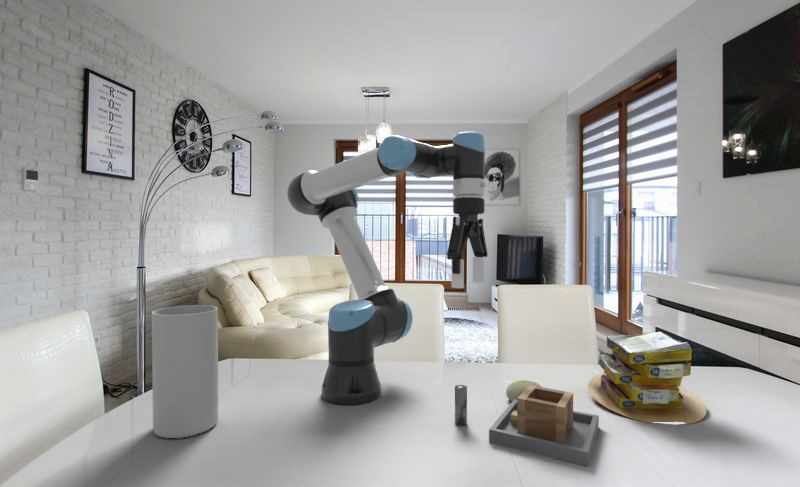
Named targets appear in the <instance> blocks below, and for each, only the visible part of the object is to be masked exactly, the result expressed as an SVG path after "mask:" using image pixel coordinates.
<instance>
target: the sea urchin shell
mask: <svg viewBox="0 0 800 487" xmlns="http://www.w3.org/2000/svg"><path fill="white" fill-rule="evenodd" d="M529 385H532V386H538V387H542V386H541V385H540V384H539V383H537V382H535V381H532V380H527V379H520V380H516V381H513V382H512V383H510V384H509V385H508V386H507V388H506V391H505V392H506V393H505V395H506V397H507V399H508V400H509V401H510V403H512V401H513V400H514V399H515V400H517V398H518V397H519V396H520V395H521V394H522V393H523V392H524V391H525V390H526V388H527V387H528V386H529Z"/></svg>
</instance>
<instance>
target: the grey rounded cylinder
mask: <svg viewBox="0 0 800 487" xmlns="http://www.w3.org/2000/svg"><path fill="white" fill-rule="evenodd" d="M454 424H455V425H456V426H458V427H463V426H464V427H465V426H467V424H468V386H467V385H465V384H456V385H454Z"/></svg>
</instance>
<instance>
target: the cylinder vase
mask: <svg viewBox="0 0 800 487" xmlns="http://www.w3.org/2000/svg"><path fill="white" fill-rule="evenodd" d="M218 310H219V309H218V307H217V306H214V305H207V304H202V305H201V304H200V305H199V304H196V305H195V304H193V305H191V304H190V305H177V306H169V307H164V308H158V309H155V310H153V311H152V312H151V347H152V348H151V351H152V352H151V355H152V360H151V361H152V362H151V366H152V368H151V369H152V375H151V376H152V431H153V433H154V435H156V436H157V435H158V436H157V437H159V436H161V437H160V438H162V437H165V438H164V439H168V438H177V439H184V438H183V437H186V438H189V437H188V436H190V437H194V436H197V435H196V434H198V435H200V434H203V433H205V432H208V431H209V430H210V428H211V429H212V428H213V427H214V426H215V425H216V424H217V423H218V421H219V330H218V329H219V323H218V321H219V317H218V316H219V315H218V314H219V311H218ZM202 432H203V433H202ZM199 433H200V434H199ZM193 435H194V436H193Z"/></svg>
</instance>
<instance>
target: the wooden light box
mask: <svg viewBox="0 0 800 487" xmlns="http://www.w3.org/2000/svg"><path fill="white" fill-rule="evenodd" d="M573 411H574V392H571V391H564V390H559V389H555V388H554V389H553V388H547V387H543V386H541V387H538V386H532V385H529V386H528V387H527V388H526V390H525V391H524V392H523V393H522V394H521V395H520V396H519V397H518V398H517V411H513V412H512V414H511V424H514V425H517V433H521V434H525V435H529V436H533V437H537V438H541V439H545V440H549V441H553V442H557V443H561V444H564V443H565V441H566V439H567V437H568V435H569V433H570V431H571V429H572V427H573Z"/></svg>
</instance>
